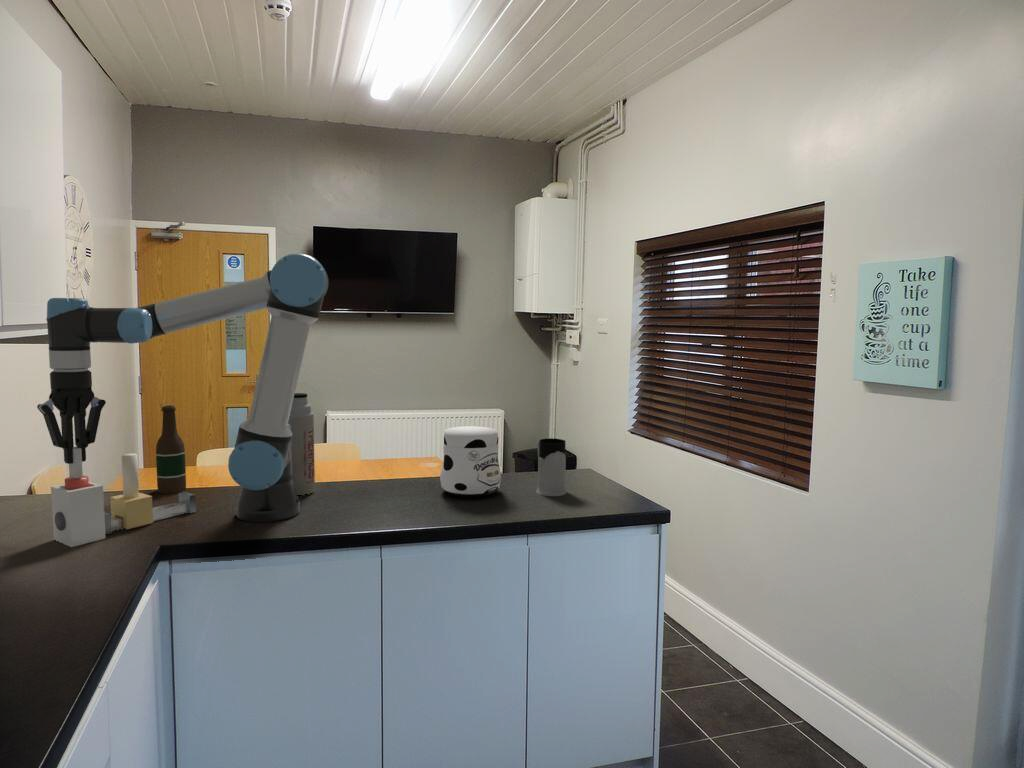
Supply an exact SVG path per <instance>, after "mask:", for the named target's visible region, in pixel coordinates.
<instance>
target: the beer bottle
mask: <svg viewBox="0 0 1024 768" xmlns="http://www.w3.org/2000/svg"><path fill="white" fill-rule="evenodd" d="M161 411H162V427H161V428H162V431H161V435H160V436H159V438H158V440H157V443H156V446H155V458H156V460H155V462H156V483H157V485H156V486H157V492H158V494H164V495H165V494H166V495H168V494H178V493H180V492H186V489H187V475H186V474H187V473H186V469H187V468H186V451H185V450H186V448H185V444H184V441H183V438H182V437H181V436H180V435H179V434H178V429H177V421H176V412H175V411H177V408H176V406H175V405H163V406H162V407H161Z"/></svg>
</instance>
